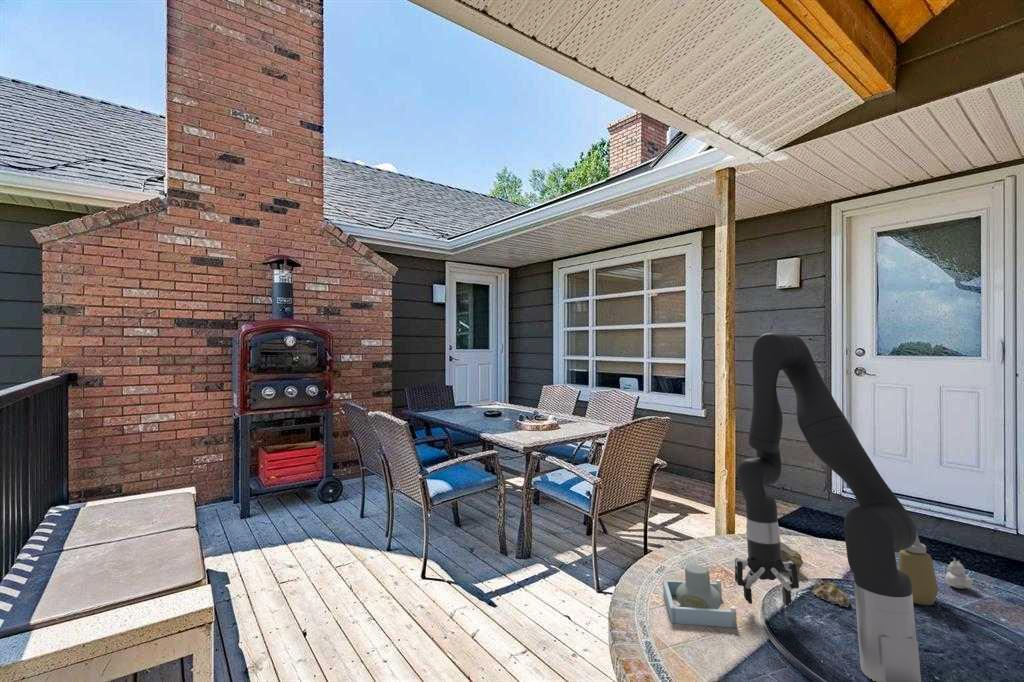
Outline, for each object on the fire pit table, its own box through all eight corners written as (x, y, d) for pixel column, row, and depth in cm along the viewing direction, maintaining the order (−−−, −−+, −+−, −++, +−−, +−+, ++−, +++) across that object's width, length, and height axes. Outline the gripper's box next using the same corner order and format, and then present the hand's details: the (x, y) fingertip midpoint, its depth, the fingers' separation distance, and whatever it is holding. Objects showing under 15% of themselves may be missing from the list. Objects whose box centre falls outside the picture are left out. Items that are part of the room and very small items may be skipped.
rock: (816, 557, 141) (788, 552, 139) (811, 580, 141) (784, 575, 138) (772, 536, 158) (747, 531, 156) (768, 556, 157) (743, 552, 155)
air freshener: (725, 607, 122) (722, 567, 123) (718, 621, 115) (715, 579, 116) (681, 597, 128) (680, 559, 129) (672, 610, 121) (671, 570, 122)
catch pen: (737, 627, 112) (736, 608, 113) (671, 622, 115) (670, 604, 115) (720, 596, 128) (720, 579, 128) (663, 592, 131) (662, 576, 131)
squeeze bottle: (898, 590, 128) (893, 523, 130) (938, 598, 123) (932, 528, 125) (898, 602, 122) (893, 531, 123) (940, 611, 117) (934, 537, 118)
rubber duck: (957, 582, 132) (954, 553, 133) (982, 593, 126) (979, 562, 126) (939, 583, 132) (936, 554, 132) (963, 594, 125) (960, 563, 126)
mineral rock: (802, 581, 131) (829, 572, 131) (807, 596, 131) (834, 587, 131) (829, 601, 120) (858, 592, 120) (834, 618, 120) (863, 608, 120)
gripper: (737, 541, 117) (741, 608, 116) (799, 543, 115) (805, 612, 114) (729, 531, 125) (733, 595, 124) (788, 533, 122) (792, 598, 121)
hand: (767, 603), depth 119 cm, fingers open, 8 cm apart
